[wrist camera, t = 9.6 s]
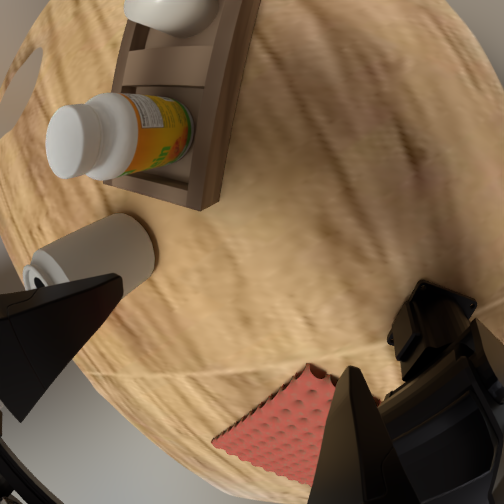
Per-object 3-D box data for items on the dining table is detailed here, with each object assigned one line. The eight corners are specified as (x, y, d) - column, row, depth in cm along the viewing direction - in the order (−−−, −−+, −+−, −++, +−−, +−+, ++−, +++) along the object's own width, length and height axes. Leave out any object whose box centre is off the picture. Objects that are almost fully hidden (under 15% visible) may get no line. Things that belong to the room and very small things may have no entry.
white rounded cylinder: (224, -12, 13) (192, -41, 8) (210, 37, 15) (172, 16, 11) (172, -6, 14) (134, -26, 9) (159, 40, 16) (116, 26, 12)
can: (158, 216, 24) (51, 275, 13) (162, 286, 27) (80, 359, 17) (104, 205, 26) (9, 248, 15) (111, 268, 29) (33, 322, 18)
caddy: (268, -27, 12) (256, -46, 10) (218, 201, 21) (200, 211, 19) (163, -17, 14) (144, -27, 12) (125, 177, 23) (103, 183, 21)
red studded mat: (213, 435, 39) (209, 444, 37) (309, 357, 25) (305, 371, 24) (338, 485, 37) (336, 493, 35) (459, 431, 23) (460, 442, 21)
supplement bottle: (157, 176, 21) (59, 210, 12) (131, 123, 20) (32, 135, 11) (208, 142, 18) (105, 155, 10) (177, 84, 17) (73, 71, 9)
